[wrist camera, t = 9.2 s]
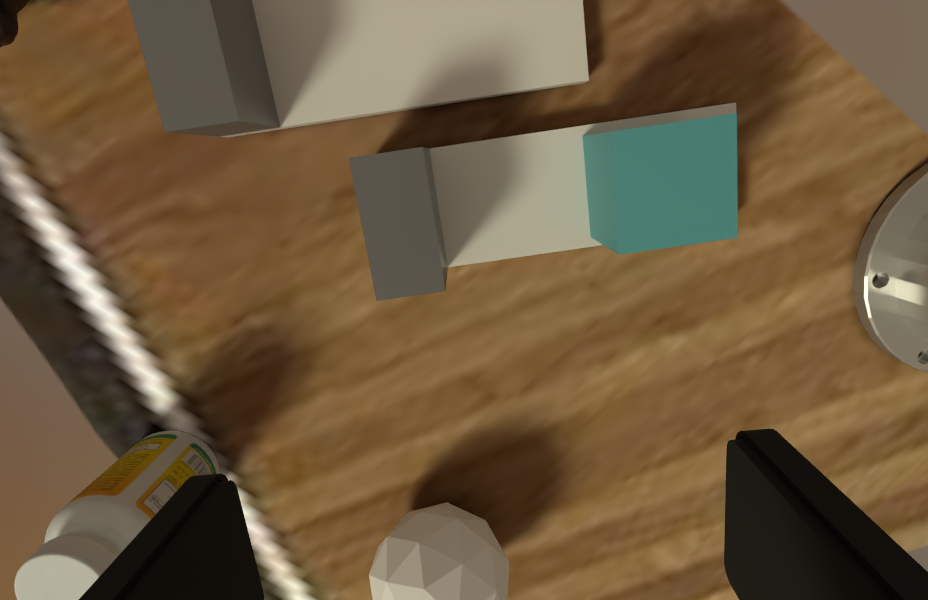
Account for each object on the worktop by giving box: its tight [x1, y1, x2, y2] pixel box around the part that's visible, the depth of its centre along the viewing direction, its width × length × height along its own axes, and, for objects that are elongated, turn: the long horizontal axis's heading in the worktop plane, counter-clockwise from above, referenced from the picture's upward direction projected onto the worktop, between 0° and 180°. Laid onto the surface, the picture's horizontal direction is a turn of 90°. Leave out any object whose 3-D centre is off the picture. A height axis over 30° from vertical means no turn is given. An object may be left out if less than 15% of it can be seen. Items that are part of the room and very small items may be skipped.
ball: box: [369, 502, 509, 600], centre depth 30 cm, size 8×8×8 cm
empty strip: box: [128, 0, 589, 137], centre depth 23 cm, size 18×6×6 cm, turn 98°
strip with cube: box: [349, 103, 736, 301], centre depth 25 cm, size 18×6×6 cm, turn 98°
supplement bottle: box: [14, 431, 220, 600], centre depth 27 cm, size 5×5×10 cm
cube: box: [582, 113, 738, 255], centre depth 24 cm, size 5×5×5 cm
